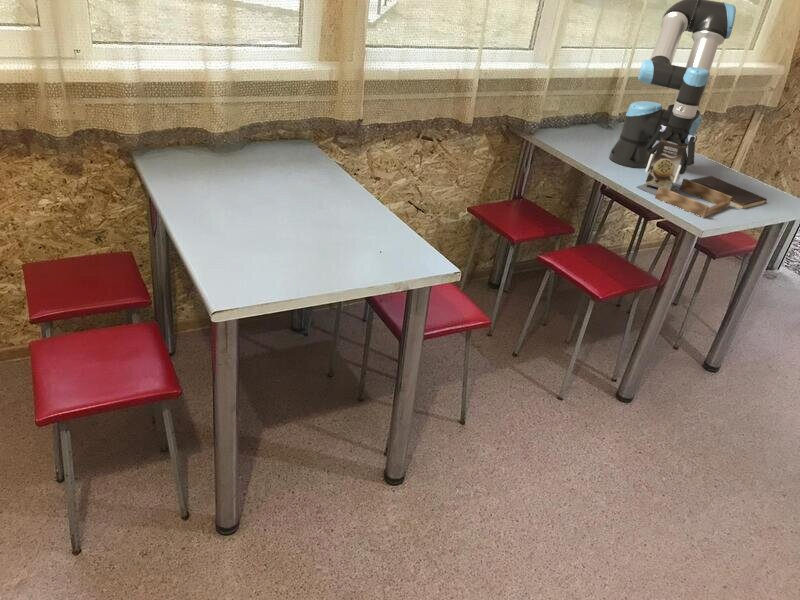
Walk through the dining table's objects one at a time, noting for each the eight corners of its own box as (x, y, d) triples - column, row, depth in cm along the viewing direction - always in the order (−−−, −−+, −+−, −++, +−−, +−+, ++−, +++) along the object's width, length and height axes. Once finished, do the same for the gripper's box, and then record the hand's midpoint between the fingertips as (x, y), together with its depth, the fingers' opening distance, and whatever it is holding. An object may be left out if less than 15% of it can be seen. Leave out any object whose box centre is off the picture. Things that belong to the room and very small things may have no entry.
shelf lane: (655, 198, 229) (658, 187, 227) (681, 188, 240) (685, 178, 238) (702, 218, 218) (707, 207, 216) (728, 207, 229) (732, 196, 227)
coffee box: (644, 184, 235) (659, 140, 227) (647, 179, 240) (661, 136, 232) (670, 191, 232) (686, 147, 224) (672, 186, 237) (688, 143, 229)
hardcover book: (740, 210, 230) (743, 204, 229) (685, 186, 245) (687, 180, 244) (765, 204, 238) (767, 198, 237) (709, 181, 254) (712, 175, 252)
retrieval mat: (636, 187, 236) (636, 186, 235) (656, 181, 244) (656, 180, 244) (658, 196, 230) (658, 195, 230) (677, 189, 239) (678, 188, 238)
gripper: (647, 106, 227) (628, 167, 239) (709, 126, 214) (685, 189, 226) (658, 104, 232) (639, 163, 244) (719, 124, 218) (696, 186, 230)
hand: (661, 176), depth 235 cm, fingers closed on coffee box, 10 cm apart
